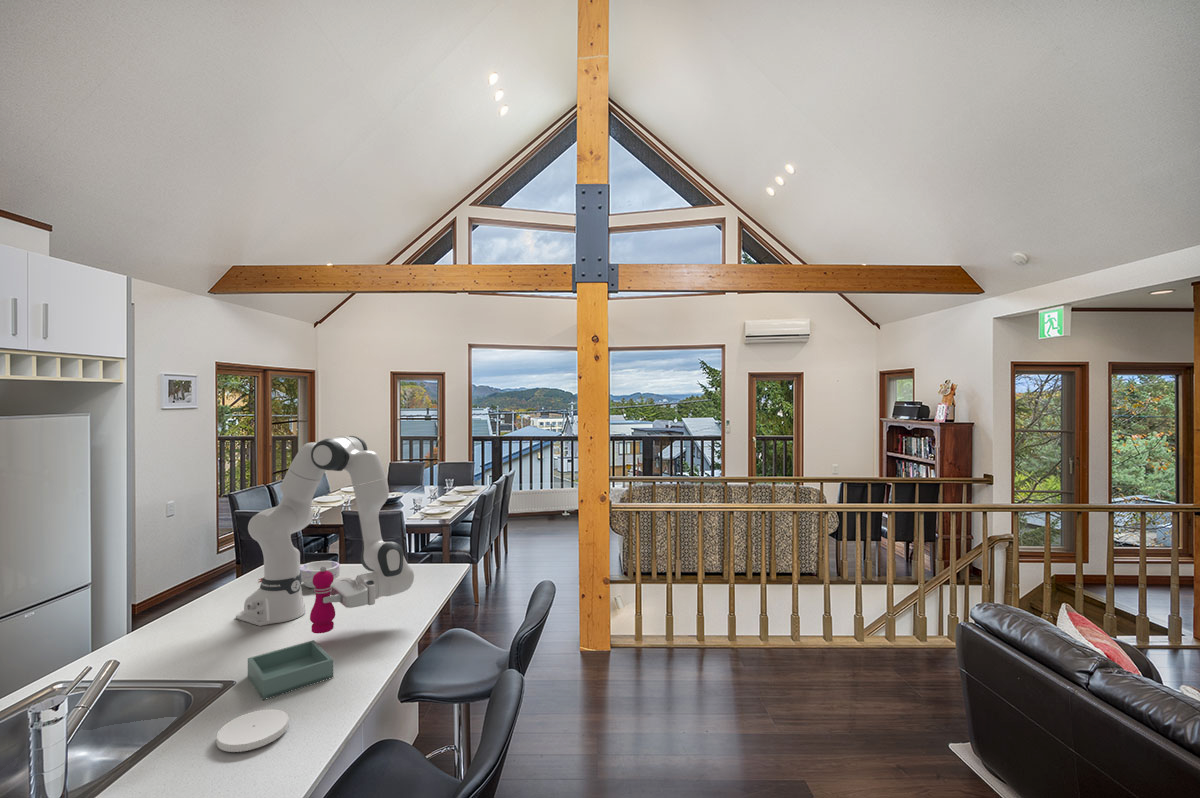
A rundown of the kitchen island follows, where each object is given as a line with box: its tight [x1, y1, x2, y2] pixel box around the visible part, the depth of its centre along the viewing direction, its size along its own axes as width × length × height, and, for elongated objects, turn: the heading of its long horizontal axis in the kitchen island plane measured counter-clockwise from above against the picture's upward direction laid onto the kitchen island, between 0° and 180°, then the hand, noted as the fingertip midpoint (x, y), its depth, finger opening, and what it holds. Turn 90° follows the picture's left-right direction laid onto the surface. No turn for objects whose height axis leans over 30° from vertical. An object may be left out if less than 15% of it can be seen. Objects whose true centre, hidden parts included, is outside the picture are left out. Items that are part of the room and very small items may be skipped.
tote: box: [247, 639, 334, 700], centre depth 156 cm, size 17×17×5 cm
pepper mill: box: [309, 566, 336, 634], centre depth 178 cm, size 7×7×20 cm
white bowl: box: [300, 560, 341, 589], centre depth 233 cm, size 15×15×8 cm
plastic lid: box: [216, 708, 290, 753], centre depth 129 cm, size 14×14×2 cm
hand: (319, 597), depth 178 cm, fingers closed on pepper mill, 4 cm apart
